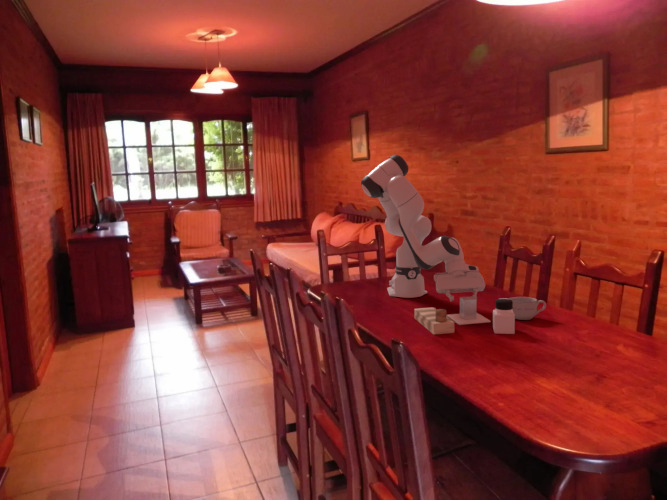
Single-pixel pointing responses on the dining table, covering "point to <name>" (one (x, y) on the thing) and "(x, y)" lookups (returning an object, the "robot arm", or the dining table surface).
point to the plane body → (434, 320)
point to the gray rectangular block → (467, 308)
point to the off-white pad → (461, 321)
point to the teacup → (526, 307)
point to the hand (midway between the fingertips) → (463, 300)
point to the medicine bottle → (504, 317)
